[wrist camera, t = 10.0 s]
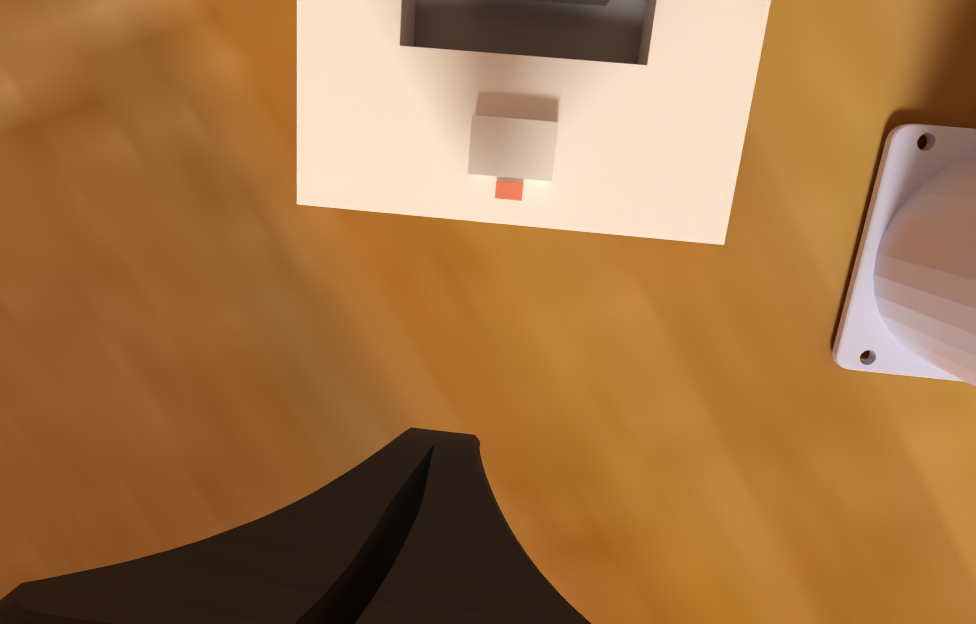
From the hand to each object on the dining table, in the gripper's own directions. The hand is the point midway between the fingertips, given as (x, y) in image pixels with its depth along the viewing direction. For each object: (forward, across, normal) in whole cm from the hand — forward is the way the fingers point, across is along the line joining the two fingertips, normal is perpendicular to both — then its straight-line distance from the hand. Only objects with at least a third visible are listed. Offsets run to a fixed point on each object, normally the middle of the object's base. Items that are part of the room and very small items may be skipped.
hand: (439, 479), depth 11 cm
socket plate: (+10, 0, -11) cm, 15 cm away
